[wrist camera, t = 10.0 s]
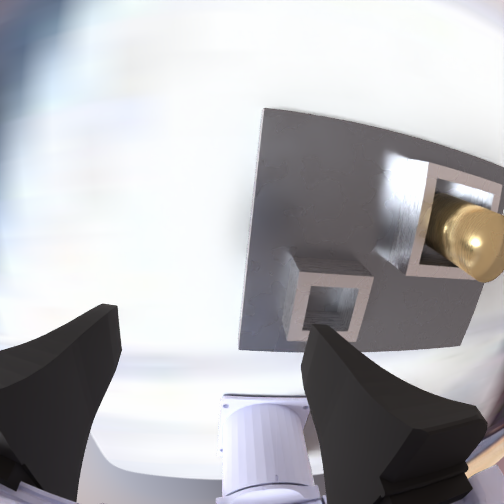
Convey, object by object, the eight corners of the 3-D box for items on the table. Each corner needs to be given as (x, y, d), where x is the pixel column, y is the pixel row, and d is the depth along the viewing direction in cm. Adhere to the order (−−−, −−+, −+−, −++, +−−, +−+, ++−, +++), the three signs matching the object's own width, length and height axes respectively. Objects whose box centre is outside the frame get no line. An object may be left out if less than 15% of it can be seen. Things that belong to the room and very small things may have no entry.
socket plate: (452, 337, 25) (473, 361, 21) (238, 338, 24) (239, 372, 20) (498, 167, 20) (530, 175, 16) (262, 110, 18) (268, 102, 15)
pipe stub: (454, 248, 20) (505, 280, 15) (412, 247, 20) (462, 284, 15) (463, 195, 19) (519, 217, 13) (420, 190, 19) (477, 212, 13)
